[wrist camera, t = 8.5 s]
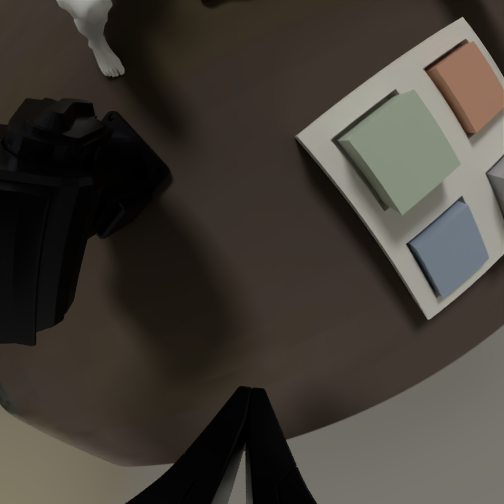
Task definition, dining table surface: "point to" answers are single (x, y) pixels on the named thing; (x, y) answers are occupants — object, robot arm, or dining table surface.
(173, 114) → the dining table surface
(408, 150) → the key sage
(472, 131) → the key terracotta
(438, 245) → the key slate
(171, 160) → the dining table surface
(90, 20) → the person figurine
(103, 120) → the robot arm
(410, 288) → the keypad
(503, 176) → the key grey
